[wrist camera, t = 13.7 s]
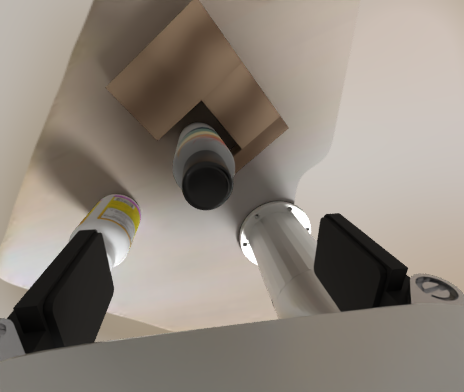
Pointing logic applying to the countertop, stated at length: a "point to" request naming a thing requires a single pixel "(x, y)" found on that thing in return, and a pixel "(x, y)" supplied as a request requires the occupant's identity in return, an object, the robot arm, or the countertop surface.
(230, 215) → the countertop surface
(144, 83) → the notched wooden block
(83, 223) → the supplement bottle
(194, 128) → the lotion bottle
